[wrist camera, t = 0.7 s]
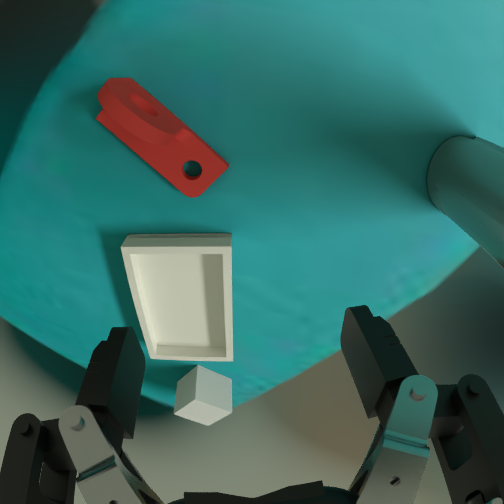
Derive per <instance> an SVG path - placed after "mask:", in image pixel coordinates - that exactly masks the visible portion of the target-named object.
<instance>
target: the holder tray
mask: <svg viewBox="0 0 504 504" xmlns="http://www.w3.org/2000/svg"><path fill="white" fill-rule="evenodd" d="M121 251H122V255H123V260H124V264H125V269H126V273H127V277H128V281H129V285H130V289H131V293H132V297H133V301H134V305H135V308H136V312H137V315H138V319H139V322H140V326H141V329H142V332H143V336H144V339H145V342H146V345H147V348H148V352H149V355H150V358H151V359H164V360H187V361H233V324H232V233H204V234H128V235H127V237H126V239H125V240H124V242H123V244H122V246H121Z"/></svg>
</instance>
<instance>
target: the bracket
mask: <svg viewBox="0 0 504 504" xmlns="http://www.w3.org/2000/svg"><path fill="white" fill-rule="evenodd" d="M97 96H98V100H99V102H100V104H101V105H102V107H103V109H102V110H101V112H100V113H99V115H98V116H97V117H96V119H97V120H98V121H99V122H100V123H102V124H103V125H104V126H105V127H106V128H107V129H109V130H110V131H111V132H112V133H113V134H114V135H116V136H117V137H118V138H119V139H120V140H121V141H123V142H124V143H125V144H126V145H127V146H128V147H130V148H131V149H132V150H133V151H134V152H135V153H137V154H138V155H139V156H140V157H141V158H142V159H144V160H145V161H146V162H147V163H148V164H149V165H151V166H152V167H153V168H154V169H155V170H156V171H158V172H159V173H160V174H161V175H162V176H163V177H165V178H166V179H167V180H168V181H169V182H170V183H172V184H173V185H174V186H175V187H176V188H177V189H179V190H180V191H181V192H182V193H183V194H185V195H186V196H188V197H197V196H199V195H201V194H202V193H203V192H204V191H205V190H206V189H207V188H208V187H209V186H210V185H211V184H212V183H213V182H214V181H215V180H216V179H217V178H218V177H219V176H220V175H221V174H222V173H223V172H224V171H225V170H226V169H227V168H228V167H229V164H228V163H227V162H226V161H225V160H224V159H223V158H222V157H221V156H220V155H219V154H217V153H216V152H215V151H214V150H213V149H212V148H211V147H210V146H209V145H208V144H207V143H205V142H204V141H203V140H202V139H201V138H200V137H199V136H198V135H197V134H195V133H194V132H193V131H192V130H191V129H190V128H189V127H188V126H186V125H185V124H184V123H183V122H182V121H181V120H180V119H178V118H177V117H176V116H175V115H174V114H173V113H172V112H170V111H169V110H168V109H167V108H166V107H165V106H164V105H162V104H161V103H160V102H159V101H158V100H157V99H155V98H154V97H153V96H152V95H151V94H150V93H148V92H147V91H146V90H145V89H144V88H142V87H141V86H140V85H139V84H138V83H136V82H135V81H134V80H133V79H132V78H110V79H108V80H107V81H106V83H105V84H104V85H103V87H102V88H101V89H100V91H99V92H98V95H97ZM190 160H193V161H197V162H198V163H199V164H200V165H201V167H202V173H201V174H200V175H198V176H196V177H191V176H189V175H187V174H186V173H185V172H184V169H183V165H184V163H185V162H187V161H190Z"/></svg>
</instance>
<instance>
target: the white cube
mask: <svg viewBox="0 0 504 504" xmlns="http://www.w3.org/2000/svg"><path fill="white" fill-rule="evenodd" d="M230 413H232V379H230V378H227V377H225V376H222V375H220V374H218V373H215V372H213V371H211V370H208V369H206V368H204V367H202V366H199V365H197V366H196V367H194V368H193V369H192V370H191V371H190V372H189V373H187V374H186V375H185V376H184V377H183V378H181V379H180V380H179V381H178V382H177V389H176V398H175V406H174V414H175V415H178V416H181V417H184V418H187V419H189V420H192V421H195V422H198V423H202V424H204V425H208V426H209V425H211V424H213V423H214V422H216V421H218V420H220V419H222V418H223V417H225V416H227V415H229V414H230Z"/></svg>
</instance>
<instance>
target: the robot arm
mask: <svg viewBox="0 0 504 504" xmlns="http://www.w3.org/2000/svg"><path fill="white" fill-rule="evenodd" d="M427 187H428V193H429V196H430V198H431V201H432V202H433V203H434V205H435V206H436V207H437V208H438V209H439V210H441V211H442V212H443V213H444V214H445V215H447V216H448V217H449V218H450V219H451V220H452V221H454V222H455V223H456V224H457V225H458V226H459V227H460V228H461V229H463V230H464V231H465V232H466V233H467V234H468V235H469V236H470V237H471V238H473V239H474V240H475V241H476V242H477V243H478V244H479V245H480V246H481V247H482V248H483V249H484V250H485V251H486V252H488V253H489V254H490V255H491V256H492V257H493V258H494V259H495V260H496V261H497V262H498V263H499V264H500V265H501V266H502V267H503V268H504V148H503V147H500V146H498V145H496V144H494V143H491V142H489V141H487V140H484V139H482V138H480V137H476V138H474V139H470V138H467V137H465V136H456V137H452V138H450V139H448V140H446V141H445V142H444V143H443V144H442V145H441V146H440V147H439V148H438V149H437V151H436V152H435V154H434V156H433V158H432V160H431V162H430V166H429V169H428V175H427ZM341 348H342V352H343V354H344V356H345V359H346V362H347V364H348V367H349V369H350V372H351V374H352V377H353V379H354V382H355V385H356V387H357V390H358V393H359V395H360V398H361V400H362V403H363V406H364V408H365V411H366V414H367V417H368V418H372V417H376V416H378V418H379V420H380V424H379V426H378V428H377V431H376V433H375V436H374V438H373V440H372V443H371V445H370V448H369V450H368V452H367V455H366V457H365V459H364V461H363V464H362V466H361V467H360V469H359V471H358V473H357V474H356V476H355V478H354V480H353V482H352V483H351V485H350V487H349V489H348V490H345V489H341V488H337V487H329V486H323V483H322V481H316V482H311V483H306V484H300V485H294V486H288V487H285V488H283V489H280V490H277V491H275V492H271V493H269V494H266V495H263V496H260V497H256V498H248V497H241V496H235V495H229V494H223V493H218V492H210V493H208V492H206V493H205V492H202V493H201V492H200V493H199V492H198V493H197V492H184V498H183V499H179V500H176V501H173V502H171V503H168V504H413V502H414V499H415V497H416V494H417V491H418V488H419V485H420V483H421V480H422V477H423V474H424V470H425V467H426V464H427V461H428V457H429V453H430V448H429V447H427V440H428V438H431V440H432V442H433V445H434V448H435V451H436V454H437V457H438V459H439V462H440V465H441V468H442V471H443V474H444V477H445V481H446V484H447V487H448V490H449V494H450V497H451V500H452V504H504V415H503V413H502V411H501V409H500V407H499V405H498V403H497V401H496V399H495V397H494V395H493V393H492V392H491V390H490V388H489V386H488V384H487V383H486V381H485V380H484V379H483V378H481V377H479V376H478V375H474V374H468V375H465V376H463V377H462V378H461V379H460V381H459V382H458V384H455V385H454V384H452V385H436V384H434V382H433V381H432V380H430V379H429V378H427V377H425V376H422V375H419V374H418V373H417V371H416V369H415V367H414V365H413V363H412V362H411V360H410V358H409V356H408V355H407V353H406V351H405V349H404V348H403V346H402V344H400V341H399V339H398V337H397V336H396V334H395V332H394V330H393V329H392V327H391V325H390V324H389V323H388V322H387V321H385V320H384V319H383V318H382V317H380V316H377V317H373V315H372V313H371V311H370V310H369V308H368V306H366V305H362V306H355V307H349V308H347V309H346V311H345V316H344V321H343V327H342V332H341ZM144 371H145V357H144V353H143V351H142V349H141V346H140V344H139V341H138V339H137V337H136V334H135V332H134V330H133V328H132V327H113V328H112V329H111V331H110V334H109V336H108V339H107V341H101V342H100V343H99V345H98V346H97V347H96V348H95V349H94V351H93V353H92V356H91V359H90V363H89V365H88V367H87V372H86V373H85V376H84V379H83V382H82V385H81V388H80V392H79V395H78V398H77V401H76V404H75V406H72V407H69V408H67V409H66V410H65V411H64V412H63V413H62V415H61V416H60V418H58V419H53V420H46V421H40V420H39V419H38V418H37V417H36V416H35V415H33V414H30V413H26V414H23V415H20V416H19V417H18V418H17V419H16V420H15V421H14V423H13V425H12V428H11V432H10V435H9V439H8V442H7V447H6V451H5V455H4V459H3V463H2V467H1V472H0V504H74V491H75V483H76V482H77V485H78V487H79V489H80V491H81V493H82V495H83V497H84V499H85V501H86V502H87V504H164V503H163V501H162V500H161V499H160V498H159V497H158V495H157V494H156V493H155V492H154V491H153V490H152V489H151V488H150V487H149V486H148V484H147V483H146V482H145V480H144V479H143V477H142V476H141V475H140V473H139V472H138V470H137V469H136V467H135V466H134V464H133V463H132V462H131V460H130V458H129V457H128V455H127V453H126V452H125V450H124V449H123V447H122V442H123V438H127V439H133V435H134V429H135V422H136V416H137V410H138V404H139V398H140V393H141V387H142V382H143V377H144ZM42 463H43V465H42ZM41 468H42V471H41ZM77 471H78V474H79V477H77V478H76V475H77ZM40 474H41V477H40ZM39 480H40V483H39Z"/></svg>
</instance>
